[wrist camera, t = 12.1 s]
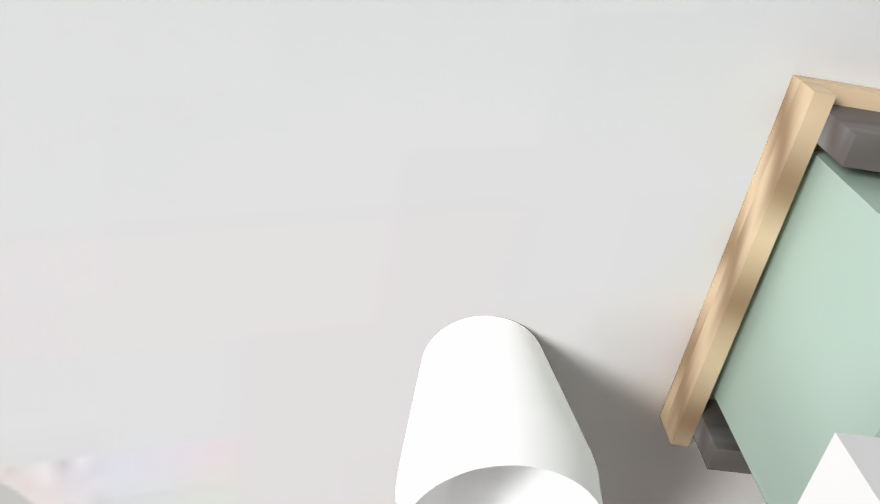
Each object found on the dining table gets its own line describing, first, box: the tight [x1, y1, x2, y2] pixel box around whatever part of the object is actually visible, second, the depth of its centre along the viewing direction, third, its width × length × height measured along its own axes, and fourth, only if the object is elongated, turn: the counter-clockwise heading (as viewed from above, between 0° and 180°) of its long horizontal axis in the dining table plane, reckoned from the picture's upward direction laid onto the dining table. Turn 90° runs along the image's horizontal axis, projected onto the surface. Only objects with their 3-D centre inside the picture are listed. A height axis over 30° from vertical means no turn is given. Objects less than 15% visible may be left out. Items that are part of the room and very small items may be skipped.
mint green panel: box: [712, 150, 880, 504], centre depth 37 cm, size 14×4×12 cm, turn 170°
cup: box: [395, 316, 603, 504], centre depth 40 cm, size 9×9×12 cm
